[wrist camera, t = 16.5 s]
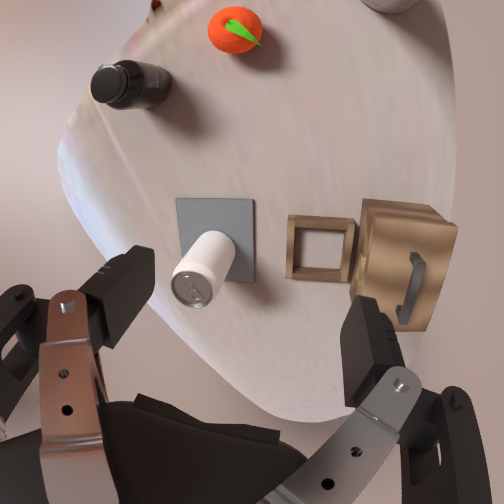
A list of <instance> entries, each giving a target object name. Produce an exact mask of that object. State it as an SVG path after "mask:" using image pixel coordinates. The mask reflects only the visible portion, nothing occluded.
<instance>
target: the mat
mask: <svg viewBox="0 0 504 504" xmlns="http://www.w3.org/2000/svg"><path fill="white" fill-rule="evenodd" d="M175 201H176V210H177V219H178V228H179V236H180V244H181V251H182V259H183V258H184V256H185V255H186V254H187V252H188V251H189V250H190V248H191V247H192V246H193V244H194V243H195V242H196V241H197V239H198V238H199V237H200V236H201V235H202V234H204V233H205V232H208V231H219V232H222V233H224V234H225V235H227V236H228V237H229V238H230V239H231V240H232V242H233V244H234V246H235V257H234V259H233V262H232V264H231V266H230V269H229V271H228V273H227V275H226V277H225V280H224V281H234V282H247V283H254V227H253V199H225V198H176V199H175Z"/></svg>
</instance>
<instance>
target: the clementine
mask: <svg viewBox="0 0 504 504" xmlns="http://www.w3.org/2000/svg"><path fill="white" fill-rule="evenodd" d="M208 36H209V39H210V40H211V42H212V43H213V45H214V46H215V47H216V48H218V49H219V50H221V51H223V52H227V53H232V54H237V53H243V52H246V51H248V50H250V49H252V48H253V47H254V46H255V45H257V44H258V45H260V43H259V40H260V39H261V36H262V24H261V20H260V19H259V17H258V16H257V15H256V14H255V13H254V12H252V11H251V10H249V9H247V8H244V7H228V8H225V9H222V10H221V11H219V12H217V13H216V14H215V15H214V16H213V17H212V19H211V20H210V23H209V26H208ZM260 46H261V45H260Z"/></svg>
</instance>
